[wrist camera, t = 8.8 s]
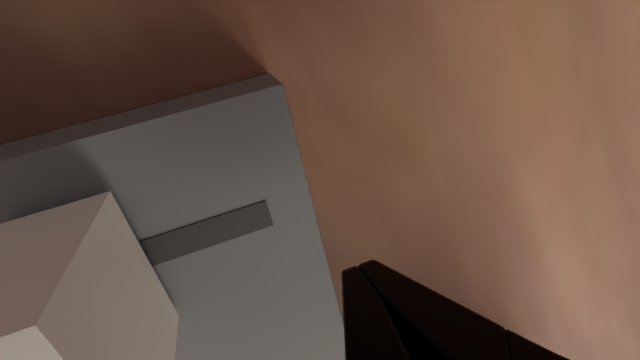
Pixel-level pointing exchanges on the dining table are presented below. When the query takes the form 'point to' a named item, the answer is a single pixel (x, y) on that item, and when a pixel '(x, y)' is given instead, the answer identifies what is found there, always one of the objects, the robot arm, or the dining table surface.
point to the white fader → (81, 288)
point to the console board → (202, 215)
